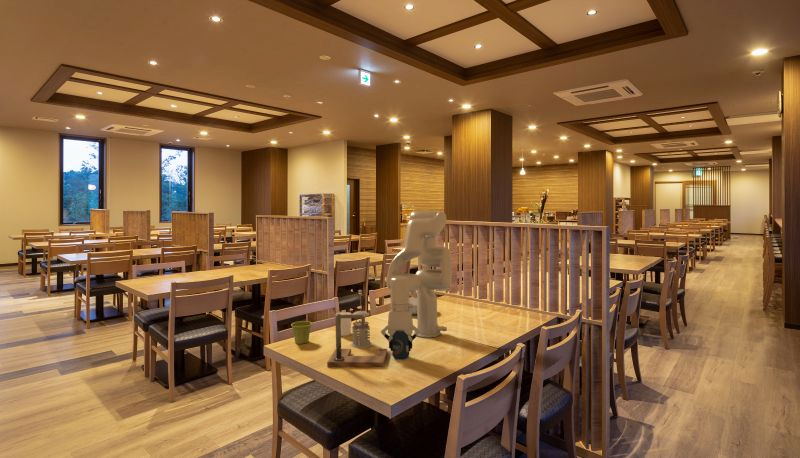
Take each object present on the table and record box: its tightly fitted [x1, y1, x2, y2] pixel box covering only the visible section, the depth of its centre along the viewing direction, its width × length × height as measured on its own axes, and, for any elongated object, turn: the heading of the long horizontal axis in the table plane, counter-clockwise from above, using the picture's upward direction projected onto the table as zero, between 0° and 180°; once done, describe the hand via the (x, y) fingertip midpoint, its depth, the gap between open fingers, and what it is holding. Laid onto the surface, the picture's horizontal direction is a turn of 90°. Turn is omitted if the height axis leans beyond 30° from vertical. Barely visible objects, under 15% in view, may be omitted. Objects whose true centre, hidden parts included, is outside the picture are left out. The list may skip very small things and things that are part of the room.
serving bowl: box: [409, 297, 417, 316], centre depth 253 cm, size 21×21×7 cm
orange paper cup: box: [335, 311, 352, 337], centre depth 212 cm, size 8×8×10 cm
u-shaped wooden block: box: [326, 348, 388, 368], centre depth 176 cm, size 22×16×2 cm
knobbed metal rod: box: [334, 313, 366, 361], centre depth 171 cm, size 13×4×18 cm, turn 87°
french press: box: [350, 289, 373, 349], centre depth 194 cm, size 10×12×25 cm
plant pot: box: [290, 320, 313, 345], centre depth 201 cm, size 9×9×9 cm
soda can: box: [391, 331, 410, 361], centre depth 178 cm, size 7×7×12 cm
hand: (400, 349), depth 178 cm, fingers closed on soda can, 6 cm apart
